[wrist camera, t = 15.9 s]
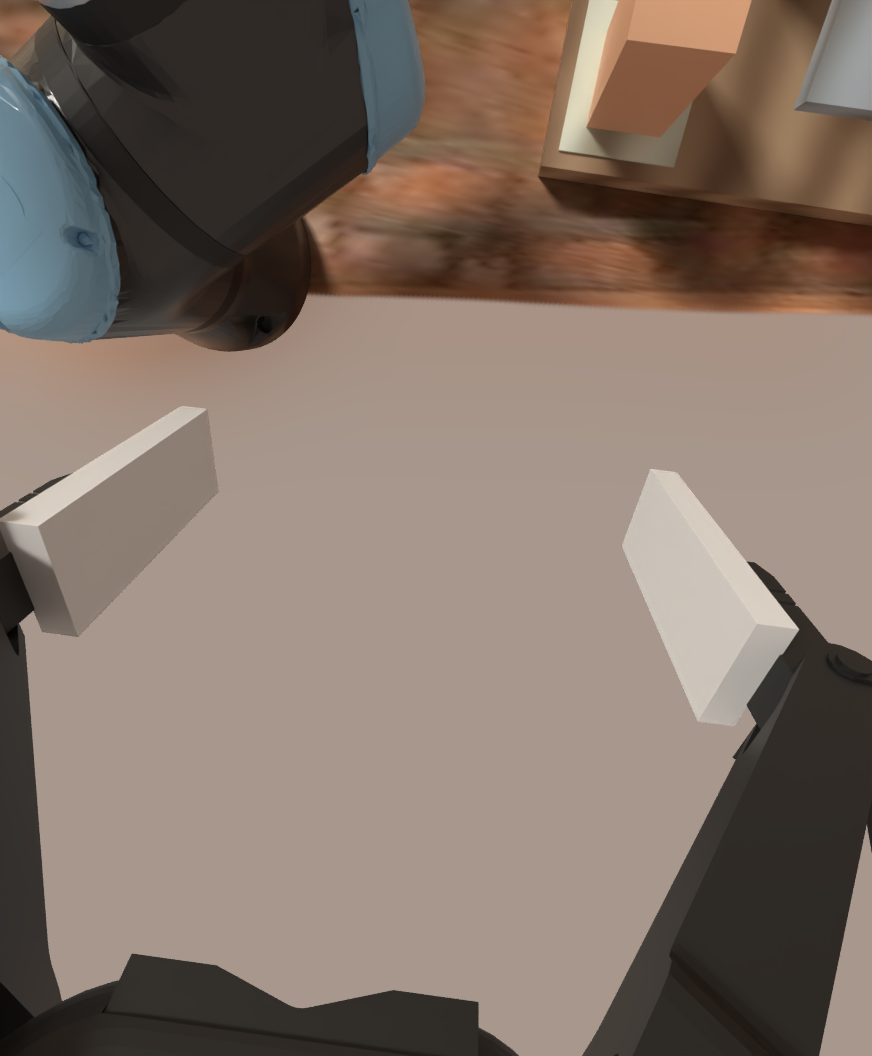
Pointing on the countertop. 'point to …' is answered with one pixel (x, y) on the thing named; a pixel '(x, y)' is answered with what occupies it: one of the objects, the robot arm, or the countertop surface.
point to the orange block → (661, 60)
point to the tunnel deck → (738, 116)
